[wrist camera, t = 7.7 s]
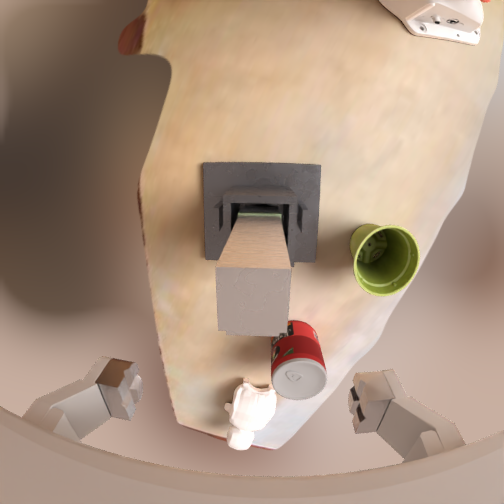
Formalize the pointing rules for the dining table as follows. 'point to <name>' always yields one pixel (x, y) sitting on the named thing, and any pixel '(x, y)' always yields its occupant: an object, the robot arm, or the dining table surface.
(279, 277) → the column
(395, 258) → the plant pot
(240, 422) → the white molar tooth
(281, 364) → the canned food
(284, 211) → the stand
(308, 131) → the dining table surface
